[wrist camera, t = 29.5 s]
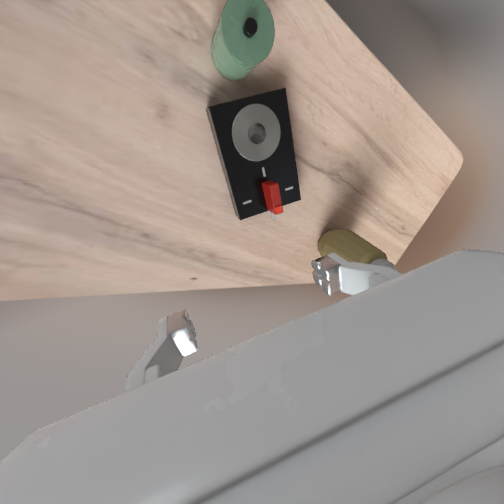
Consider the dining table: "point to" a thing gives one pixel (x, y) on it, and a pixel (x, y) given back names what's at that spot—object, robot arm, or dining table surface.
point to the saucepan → (242, 38)
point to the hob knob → (272, 197)
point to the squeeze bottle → (351, 248)
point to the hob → (255, 172)
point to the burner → (255, 132)
